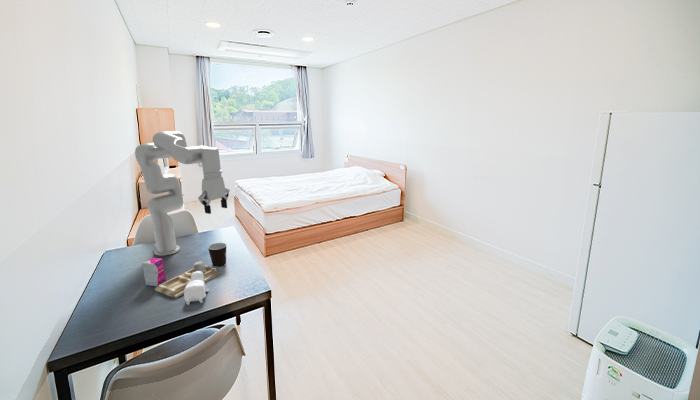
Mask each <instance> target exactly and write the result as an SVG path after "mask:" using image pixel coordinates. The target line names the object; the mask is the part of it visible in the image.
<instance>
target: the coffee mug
mask: <svg viewBox="0 0 700 400" xmlns="http://www.w3.org/2000/svg"><path fill="white" fill-rule="evenodd" d="M207 250H208V252H209V257H210V260H211V264H212V266H213V267H214V268H220V267H224V266H225V265H226V264H227V244H226V243H225V242H214V243H212V244H210V245H209V246H207Z"/></svg>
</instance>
